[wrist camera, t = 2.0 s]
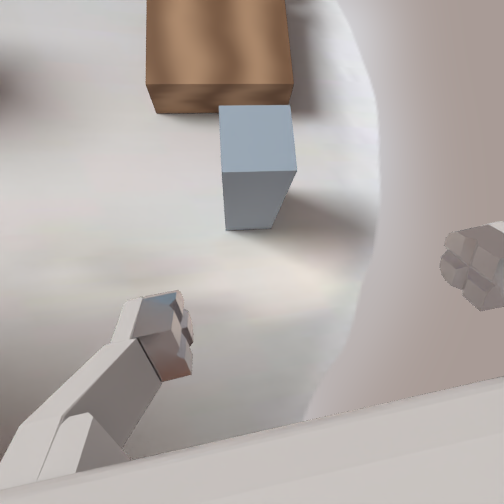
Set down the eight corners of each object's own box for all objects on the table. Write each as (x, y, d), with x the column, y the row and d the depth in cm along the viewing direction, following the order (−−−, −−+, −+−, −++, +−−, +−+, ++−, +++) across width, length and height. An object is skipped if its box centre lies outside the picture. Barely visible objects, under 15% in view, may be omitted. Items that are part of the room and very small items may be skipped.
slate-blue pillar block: (225, 230, 29) (221, 172, 17) (223, 187, 30) (218, 105, 18) (270, 228, 29) (297, 170, 17) (267, 186, 30) (290, 105, 18)
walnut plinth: (156, 113, 31) (140, 71, 26) (156, 7, 34) (142, -51, 28) (286, 112, 32) (297, 71, 27) (276, 9, 35) (284, -46, 30)
